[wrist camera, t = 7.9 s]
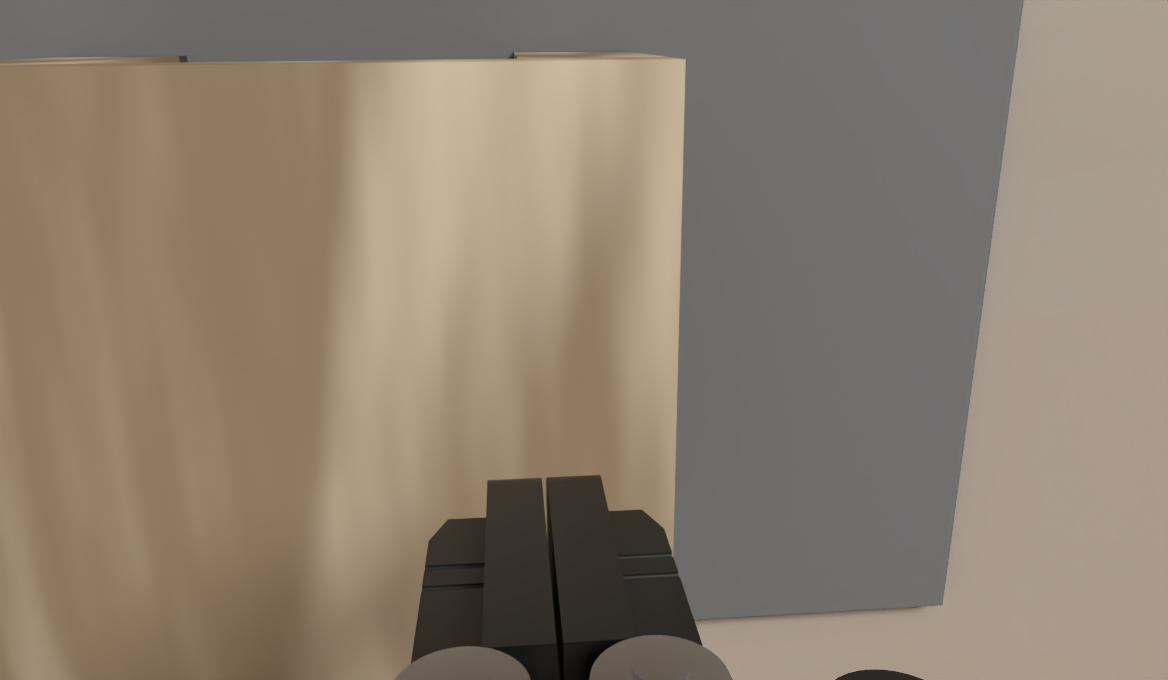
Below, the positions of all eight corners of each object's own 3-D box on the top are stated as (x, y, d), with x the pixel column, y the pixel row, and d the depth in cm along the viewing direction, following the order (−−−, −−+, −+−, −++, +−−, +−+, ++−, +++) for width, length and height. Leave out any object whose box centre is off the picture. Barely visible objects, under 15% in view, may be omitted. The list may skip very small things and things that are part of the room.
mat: (1024, -94, 21) (1036, -97, 20) (934, 595, 26) (942, 605, 26) (-50, -96, 19) (-64, -98, 18) (103, 643, 25) (95, 655, 24)
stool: (623, 527, 24) (154, 551, 23) (626, 50, 20) (65, 57, 20) (669, 712, 18) (16, 756, 17) (685, 59, 14) (-159, 68, 13)
